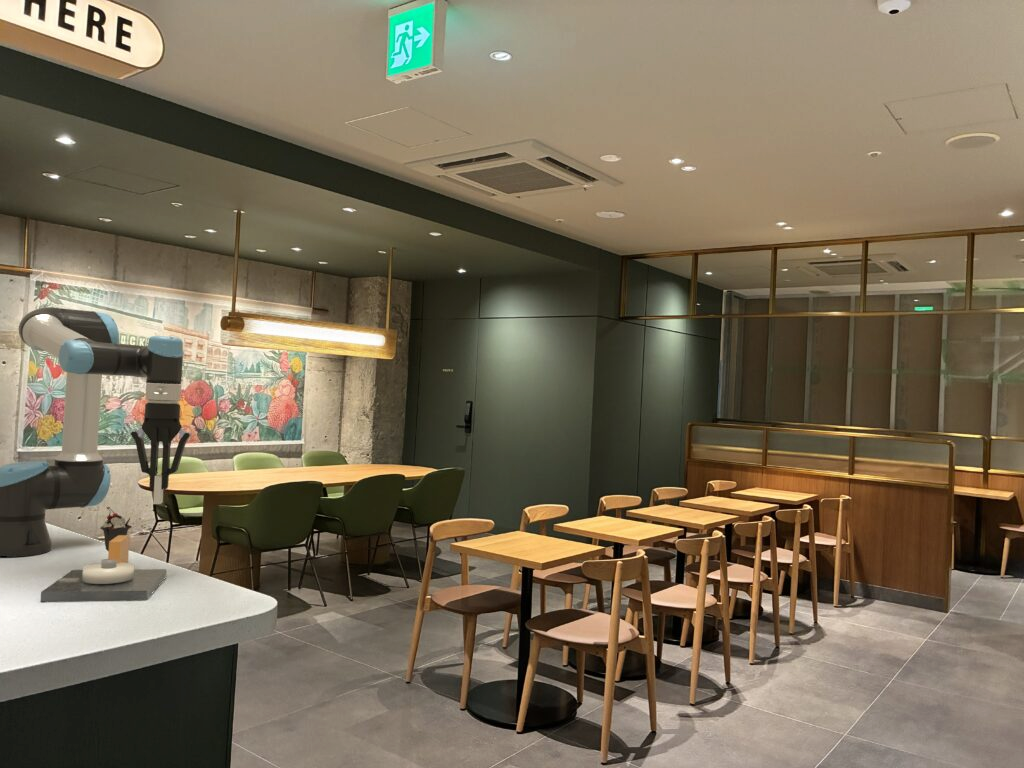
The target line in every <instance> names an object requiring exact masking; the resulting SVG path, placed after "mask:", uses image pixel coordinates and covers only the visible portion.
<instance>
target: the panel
mask: <svg viewBox="0 0 1024 768" xmlns="http://www.w3.org/2000/svg"><path fill="white" fill-rule="evenodd" d="M82 575H83V569H71V570H70V571H69V572H68V573H66V574H65V575H64V576H62V577H61V578H59V579H58V580H56V581H55V582H53V583H52V584H50V585H48V586H47V587H46V588H45V589H43V590H42V591H40V601H48V603H50V602H51V603H53V602H54V603H59V602H60V601H62V602H63V601H64V602H104V601H105V602H107V601H108V602H109V601H110V602H111V601H114V602H115V601H118V602H120V601H121V602H122V601H123V602H124V600H125V601H147V600H148V599H149V598H150V597H151V596H150V595H153V593H154V592H155V591H156V590H157V589H158V588H157V587H160V585H161V584H162V583H163V582H164V581H165V579H166V578H167V569H165V568H164V569H163V568H162V569H160V568H159V569H157V568H155V569H154V568H153V569H150V568H149V569H146V568H145V569H142V568H141V569H137V568H136V569H134V577H133V579H131V580H128V581H125V582H119V583H111V584H91V583H85V582H83V581H82ZM165 577H166V578H165ZM164 578H165V579H164ZM163 580H164V581H163ZM162 581H163V582H162ZM161 582H162V583H161ZM160 583H161V584H160ZM159 584H160V585H159ZM156 588H157V589H156ZM155 589H156V590H155ZM154 590H155V591H154ZM153 591H154V592H153ZM152 592H153V593H152ZM149 596H150V597H149ZM148 597H149V598H148ZM58 601H59V602H58ZM60 603H61V602H60Z"/></svg>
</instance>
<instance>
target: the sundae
mask: <svg viewBox="0 0 1024 768" xmlns="http://www.w3.org/2000/svg"><path fill="white" fill-rule="evenodd" d="M106 509H107V510H108V511H109V512H112V513H113V514H112V515H111V513H109V514H108V515H107V516H106V519H107V520H105V521H104V523H103V525H102V526H101V527H100V530H102V531H103V535H104V546H105V550H106V551H107V552H109V541H111V540H112V539H114V538H115V537H117V536H118V535H128V531H129V529H132V525H129V522H130V520H131V517H129V518H128V519H127V521H126V520H125V518H124V517H123V516H122V515H119V514H118V513H116V512H114V511H113V509H111V507H110V506H107V507H106Z"/></svg>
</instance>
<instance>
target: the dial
mask: <svg viewBox="0 0 1024 768" xmlns="http://www.w3.org/2000/svg"><path fill="white" fill-rule="evenodd" d="M130 538H131V535H130V534H129V535H128V534H127V535H118V536H117V537H115V538H114V539H112V540H111V541H109V552H108V551H107V552H108V554H107V555H108V557H107V558H105V559H101V562H98V563H92V564H88V565H85V566H84V567H83V568H82V570H83V575H82V581H83V582H85V583H91V584H111V583H119V582H125V581H128V580H131V579H133V577H134V570H135V565H134V564H133V563H130V562H129V554H130V553H129V552H130V551H129V550H130Z"/></svg>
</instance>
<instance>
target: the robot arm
mask: <svg viewBox="0 0 1024 768" xmlns="http://www.w3.org/2000/svg"><path fill="white" fill-rule="evenodd" d="M18 335H19V337H20V339H21V341H22V342H23V343H24V344H25V345H26V346H28V347H29V348H30V349H32V350H35V351H39V352H47V353H48V354H50V355H52V356H54V357H55V358H56V359H58V364H59V366H60V369H61V370H62V371H63V372H65V373H66V375H65V376H66V378H65V394H64V395H65V396H64V412H63V425H62V426H63V427H62V441H61V452H60V453H59V454H58V455H57V456H56V457H54V465H50V464H49V462H48V461H47V460H27V461H19V462H12V463H7V464H4V465H1V466H0V556H7V557H6V558H17V557H18V556H19V557H27V556H28V557H29V556H35V555H42V554H44V553H48V552H50V551H51V550H52V541H51V540H52V539H51V537H50V534H49V530H48V527H47V524H46V510H58V509H73V508H86V507H94V506H97V505H99V504H101V503H102V502H103V501H104V500H105V499H106V497H107V495H108V493H109V489H110V487H111V485H110V484H111V479H112V478H111V473H110V472H111V470H110V468H109V466H108V464H105V463H104V462H103V461H104V458H103V456H101V455H100V454H99V452H98V446H99V429H100V428H99V427H100V415H101V414H100V413H101V400H102V399H101V397H102V383H103V382H102V379H103V375H104V376H105V375H106V376H107V375H109V376H119V377H120V376H121V377H122V376H123V377H135V378H146V379H145V380H146V381H145V382H146V385H145V400H146V401H147V402H146V403H145V404H144V420H143V423H142V424H141V427H140V428H138V429H137V430H134V431H131V433H130V436H131V438H132V439H133V441H134V442H135V447H136V450H137V456H138V461H139V466H140V470H141V472H142V474H143V473H144V474H148V476H149V485H148V487H149V489H150V490H153V502H152V503H153V505H161V504H163V503H164V501H163V500H164V490H168V487H169V480H170V479H169V477H170V475H171V474H175V473H176V472H178V469H179V466H180V463H181V459H182V456H183V454H184V451H185V447H186V444H187V442H188V440H189V439H190V438H191V437H192V434H191V432H190V431H189V432H187V431H186V430H184V429H183V426H182V425H181V422H180V421H181V420H180V417H181V416H180V415H181V405H180V403H178V402H181V399H182V398H181V397H182V380H183V379H182V375H183V374H182V373H183V363H184V362H183V361H184V360H183V359H184V354H185V353H184V348H183V346H184V345H183V344H184V342H183V340H182V339H181V338H179V337H175V336H169V335H168V336H165V335H151V336H150V337H149V338H148V342H147V345H137V344H136V345H135V344H126V343H125V344H124V343H120V334H119V328H118V325H117V323H116V321H115V319H114V317H112V316H111V315H110V314H108V313H105V312H99V311H93V310H83V309H82V310H80V309H73V308H72V309H71V308H62V307H61V308H60V307H56V306H55V307H52V306H50V307H47V306H46V307H42V308H41V307H40V308H38V309H34V310H32V311H30V312H28V313H27V314H26V315H24V316H23V317H22V319H21V320H20V321H19V325H18ZM178 434H179V435H178ZM145 435H146V436H147V439H149V441H150V459H149V461H148V456H147V451H146V446H145V442H144V436H145ZM177 435H178V439H179V441H178V443H177V447H176V451H175V452H174V453H175V454H174V456H173V461H172V463H171V462H170V461H171V448H172V447H171V446H172V441H174V439H175V438H176V437H177ZM160 443H162V460H161V461H162V462H161V473H160V474H159V470H158V468H159V466H158V465H159V450H160V449H159V448H160ZM149 462H150V463H149ZM170 464H171V465H170ZM10 556H11V557H10Z"/></svg>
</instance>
